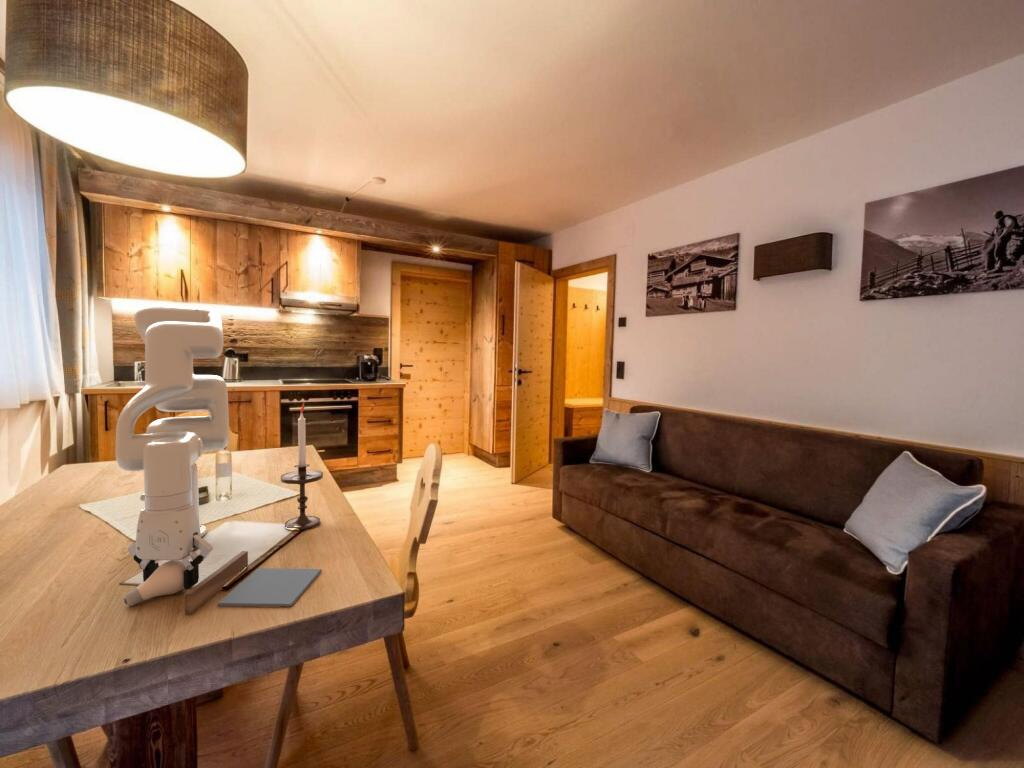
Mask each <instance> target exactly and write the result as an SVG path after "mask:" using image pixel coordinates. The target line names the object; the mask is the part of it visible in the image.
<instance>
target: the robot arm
mask: <svg viewBox="0 0 1024 768" xmlns="http://www.w3.org/2000/svg"><path fill="white" fill-rule="evenodd" d="M134 323H135V327H136V329H137V331H138V332H137V333H138V334H139V336H140V338H141V340H142V342H143V344H144V345H145V346H144V358H145V359H144V387H143V388H142V389H141V390H140V391H138V393H136V394H135V395H134V396H133V397H131V399H130V400H128V402H127V403H126V405H125V406H124V407H123V408H122V410H121V411H120V414H119V415H118V418H117V422H116V428H115V429H116V430H115V460H116V463H117V466H118V467H119V468H121V470H124V471H127V472H140V471H143V490H144V492H143V494H141V495H140V497H139V498H140V499H139V500H140V501H141V502H144V507H143V508H141V509H140V512H139V515H138V519H137V523H136V532H135V534H136V535H135V536H136V537H135V542H133V543H131V544H130V545H129V546H128V547H127V548H126V550H127V552H128V553H129V554H130V555H131V556H132V558H133V560H134V561H135V562H136V563H137V564H138V568H139V570H142V583H143V582H144V581H146V580H147V579H148V578H149V577H150V576H151V575H152V574H153V572H154V571H155V570H156V569H157V568H158V567H159V566H160V564H159V562H156V561H171V560H182V561H183V563H184V565H185V566H186V568H187V569H186V570H185V571H184V588H183V589H184V590H190V589H192V588H193V587H195V586H196V585H197V584H199V580H200V572H199V571H200V570H199V565H201V564H202V562H203V561H204V560H205V559H206V558H207V557H208V556H209V554H210V553H211V552H212V551H213V550H214V546H213V545H212V544H210V543H209V542H207V541H206V540H205V539H204V538H202V537H204V536H205V535H206V534H207V531H208V530H207V527H206V526H205V525H203V524H200V503H199V502H200V501H199V499H200V498H199V493H200V492H199V470H198V467H197V464H196V463H197V461H198V460H199V459H200V458H201V457H202V455H203V452H204V453H205V452H214V451H215V452H216V451H220V450H221V451H222V450H223V449H225V448H226V447H227V446H228V445H229V440H230V414H229V412H230V411H229V393H228V387H227V384H226V381H225V379H224V378H223V377H221V376H219V375H217V374H216V375H214V374H195V372H194V359H217V358H219V357H220V356H221V355H222V353H223V349H224V345H225V344H224V342H225V341H224V331H223V330H224V328H223V327H224V326H223V320H222V316H221V314H220V313H219V311H217V310H216V309H214V308H209V307H198V306H197V307H196V306H195V307H194V306H185V305H184V306H183V305H182V306H181V305H173V304H146V305H142V306H140V307H137V309H136V310H135V312H134ZM153 407H155V409H157V410H158V411H160V412H168V413H176V412H178V413H179V412H181V413H182V412H183V413H184V412H201V411H203V412H207V413H208V415H198V416H197V415H194V416H189V415H188V416H170V417H163V418H160V419H159V418H158V419H156V420H153V421H152V422H151V423H149V424H148V426H147V427H146V431H145V433H140V434H135V426H136V423H137V421H138V419H139V418H140V417H141V416H142V415H143V414H144V413H145V412H146V411H148V410H150V409H152V408H153ZM199 550H200V552H199V553H198V552H197V551H199Z"/></svg>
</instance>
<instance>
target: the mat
mask: <svg viewBox="0 0 1024 768" xmlns="http://www.w3.org/2000/svg"><path fill="white" fill-rule="evenodd" d="M321 573H322V568H285V567H284V568H283V567H282V568H276V567H275V568H273V567H272V568H271V567H265V568H264V567H258V568H257V569H255V571H253V572H252V573H251V574H250V575H249V576H247V577H246V578H245V579H244V580H243V581H242V582H241V583H239V584H238V585H237V586H236V587H234V588H233V589H232V590H231V591H230V592H229V593H227V595H225V596H224V597H222V599H221V600H219V601H218V602H217V607H264V608H267V607H269V608H271V607H275V608H276V607H277V608H281V607H280V606H288V607H287V608H290V607H289V606H291V607H292V606H294V604H295V603H296V602H297V601H298V599H299V598H300V597H301V596H302V595H303V594H304V592H305V591H306V590H307V589H308V588H309V586H310V585H311V584H312V583H313V582H314V581H315V580H316V579H317V577H318V576H319V575H320V574H321ZM295 601H296V602H295ZM294 602H295V603H294Z"/></svg>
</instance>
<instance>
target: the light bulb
mask: <svg viewBox="0 0 1024 768" xmlns="http://www.w3.org/2000/svg"><path fill="white" fill-rule="evenodd" d="M186 569H187V568H186V566H185V565H184V563H183V561H182V560H167V561H165V562H163V563H162V564H161V565H159V567H158V568H157V569H156V570H155V571H154V572H153V574H152V575H151V576H150V577H149V578H148V579H147V580H146V581H144V582H143V581H142V582H141V583H140V584H138V586H137V587H136V588H134V589H131V590H130V591H128V592H126V593H125V595H124V599H123V600H124V603H125V604H126V605H128V606H131V607H134V606H135V605H137V604H139V603H140V602H141V603H142V601H147V600H149V599H152V598H156V597H160V596H169V595H173V594H176V593H178V592H180V591H182V590H183V589H184V571H185V570H186Z"/></svg>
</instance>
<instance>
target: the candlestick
mask: <svg viewBox="0 0 1024 768" xmlns="http://www.w3.org/2000/svg"><path fill="white" fill-rule="evenodd" d="M304 410H305V403H302V405H301V407H300V415H299V418H298V419H297V421H298V422H297V440H298V441H297V443H298V444H297V445H298V446H297V447H298V449H297V451H298V452H297V453H298V461H297V462H298V464H297V465H296V464H295V465H294V466H293V467H294V468H296V469H297V470H294V471H289V472H286V473H283V474H281V476H280V482H281V483H283V484H286V485H287V484H289V485H299V496H298V497H297V498H296V500H297V502H298V503H299V505H298V506H297V509H298V510H299V516H297V517H293V518H289V519H288V520H287V521H285V523H284V528H285V527H287V528H298V529H299V530H301V531H300V532H302V531H307V530H310V529H314V528H317V527H318V526H319V525H321V519H320V517H319V516H314V515H306V509H308V506H307V505H306V502H308V500H309V497H308V496H307V495H306V484H309V483H313V482H317V481H320V480H322V479H323V478H324V472H323V471H321V470H316V469H307V467H310V466H311V465H310V464H307V460H306V459H307V458H306V457H307V456H306V455H307V454H306V453H307V452H306V451H307V450H306V446H307V444H306V439H307V438H306V431H307V430H306V417H305V416H304V414H303V413H304ZM304 417H305V418H304ZM294 526H301V527H294Z"/></svg>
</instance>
